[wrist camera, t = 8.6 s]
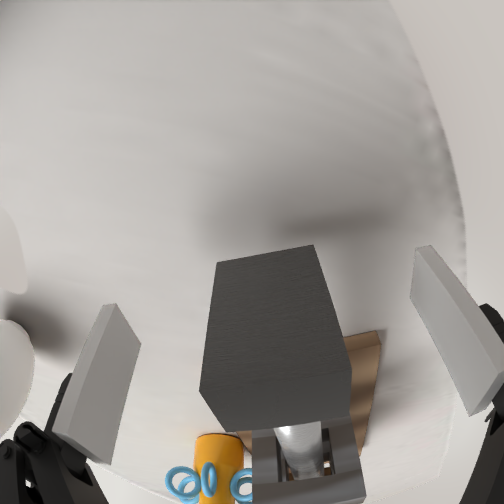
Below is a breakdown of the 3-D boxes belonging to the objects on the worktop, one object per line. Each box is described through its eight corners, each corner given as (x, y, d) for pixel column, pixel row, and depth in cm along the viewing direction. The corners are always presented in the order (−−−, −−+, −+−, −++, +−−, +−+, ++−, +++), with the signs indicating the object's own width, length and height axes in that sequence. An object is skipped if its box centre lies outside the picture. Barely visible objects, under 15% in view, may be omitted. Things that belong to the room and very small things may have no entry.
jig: (203, 359, 24) (188, 500, 14) (375, 330, 23) (422, 467, 13) (262, 462, 38) (264, 535, 27) (358, 447, 36) (371, 519, 26)
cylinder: (283, 434, 32) (291, 549, 19) (248, 460, 37) (248, 553, 24) (182, 414, 29) (167, 543, 17) (163, 444, 34) (150, 543, 22)
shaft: (216, 262, 15) (198, 391, 9) (313, 244, 14) (352, 369, 8) (283, 448, 26) (287, 511, 20) (328, 441, 26) (337, 504, 20)
